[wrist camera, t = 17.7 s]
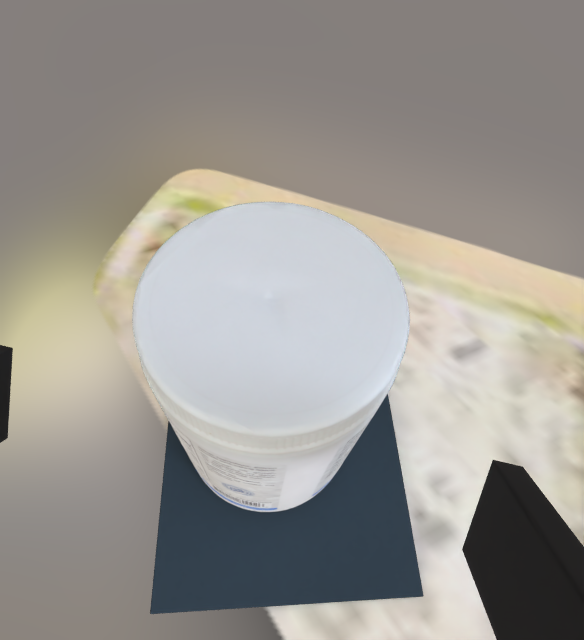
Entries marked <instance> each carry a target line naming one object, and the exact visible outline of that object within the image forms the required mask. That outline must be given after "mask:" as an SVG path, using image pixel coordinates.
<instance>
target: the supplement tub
mask: <svg viewBox="0 0 584 640" xmlns="http://www.w3.org/2000/svg"><path fill="white" fill-rule="evenodd" d="M132 321H133V333H134V338H135V342H136V346H137V349H138V352H139V357H140V361H141V366H142V369H143V372H144V375H145V377H146V379H147V381H148V383H149V385H150V388H151V389H152V391H153V393H154V395H155V397H156V399H157V401H158V402H159V404H160V406H161V408H162V410H163V412H164V413H165V415H166V417H167V419H168V420H169V422H170V424H171V426H172V427H173V429H174V431H175V433H176V435H177V436H178V438H179V440H180V442H181V444H182V445H183V447H184V449H185V451H186V452H187V454H188V456H189V458H190V460H191V461H192V463H193V465H194V467H195V469H196V470H197V472H198V473H199V475H200V477H201V478H202V479H203V481H204V482H205V483H206V484H207V485H208V487H209V488H210V489H211V490H212V491H213V492H214V493H215V494H217V495H218V496H219V497H221V498H222V499H224V500H225V501H227V502H229V503H231V504H233V505H235V506H238V507H240V508H243V509H247V510H251V511H257V512H275V511H282V510H287V509H290V508H293V507H296V506H298V505H301V504H303V503H304V502H306V501H308V500H310V499H311V498H312V497H314V496H315V495H317V494H318V493H319V492H320V491H321V490H322V489H323V488H324V487H325V486H326V485H327V484H328V483H329V482H330V481H331V479H332V478H333V477H334V475H335V474H336V473H337V471H338V470H339V468H340V467H341V465H342V464H343V462H344V460H345V459H346V457H347V456H348V454H349V453H350V451H351V450H352V448H353V446H354V445H355V443H356V442H357V440H358V439H359V437H360V436H361V434H362V433H363V431H364V430H365V428H366V427H367V425H368V424H369V422H370V421H371V419H372V418H373V416H374V414H375V413H376V411H377V410H378V408H379V407H380V405H381V403H382V402H383V400H384V398H385V397H386V395H387V394H388V392H389V390H390V388H391V386H392V384H393V382H394V380H395V378H396V375H397V373H398V369H399V366H400V363H401V360H402V358H403V355H404V353H405V349H406V345H407V341H408V335H409V325H410V316H409V307H408V301H407V296H406V292H405V289H404V286H403V284H402V281H401V279H400V277H399V275H398V273H397V271H396V269H395V267H394V266H393V264H392V263H391V261H390V260H389V258H388V257H387V256H386V254H385V253H384V252H383V251H382V250H381V249H380V247H379V246H378V245H377V244H376V243H375V242H374V241H373V240H372V239H370V238H369V237H368V236H367V235H365V234H364V233H363V232H362V231H360V230H359V229H357V228H356V227H354V226H353V225H351V224H350V223H348V222H346V221H344V220H342V219H340V218H338V217H336V216H334V215H332V214H329V213H327V212H324V211H322V210H319V209H315V208H312V207H308V206H304V205H299V204H293V203H284V202H254V203H246V204H240V205H234V206H230V207H226V208H223V209H220V210H217V211H214V212H212V213H209V214H207V215H204V216H202V217H200V218H198V219H196V220H194V221H193V222H191V223H189V224H188V225H186V226H184V227H183V228H181V229H180V230H179V231H177V232H176V233H175V234H174V235H173V236H171V237H170V238H169V239H168V240H167V241H166V242H165V243H164V244H163V245H162V246H161V247H160V248H159V249H158V250H157V252H156V253H155V254H154V256H153V257H152V258H151V260H150V261H149V263H148V264H147V266H146V268H145V270H144V272H143V274H142V276H141V278H140V281H139V283H138V286H137V289H136V293H135V298H134V303H133V316H132Z"/></svg>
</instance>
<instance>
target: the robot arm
mask: <svg viewBox="0 0 584 640" xmlns="http://www.w3.org/2000/svg"><path fill="white" fill-rule="evenodd" d="M12 350H13V349H12V348H10V347H6V346H2V345H0V443H1V442H2V441H4V440H5V439H7V437H8V419H9V402H10V385H11V369H12ZM462 550H463V553H464V555H465V558H466V560H467V563H468V566H469V568H470V571H471V574H472V576H473V579H474V581H475V584H476V587H477V589H478V592H479V594H480V597H481V600H482V602H483V605H484V608H485V610H486V613H487V615H488V618H489V621H490V623H491V626H492V628H493V631H494V634H495V636H496V639H497V640H584V546H583V545H582V544H581V543H580V541H579V540H578V539H577V537H576V536H575V535H574V533H573V532H572V531H571V529H570V528H569V527H568V525H567V524H566V523H565V522H564V520H563V519H562V518H561V516H560V515H559V514H558V512H557V511H556V510H555V508H554V507H553V506H552V504H551V503H550V502H549V501H548V499H547V498H546V497H545V495H544V494H543V493H542V491H541V490H540V489H539V487H538V486H537V485H536V483H535V482H534V481H533V480H532V478H531V477H530V476H529V474H528V473H527V472H526V470H525V469H524V468H523V467H521V466H517V465H513V464H509V463H504V462H500V461H496V460H493V461H492V464H491V467H490V470H489V473H488V476H487V479H486V482H485V484H484V487H483V490H482V493H481V496H480V499H479V502H478V505H477V508H476V511H475V514H474V517H473V519H472V522H471V525H470V528H469V531H468V534H467V537H466V540H465V543H464V546H463V549H462Z"/></svg>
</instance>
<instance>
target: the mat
mask: <svg viewBox="0 0 584 640" xmlns="http://www.w3.org/2000/svg"><path fill="white" fill-rule="evenodd" d="M421 596H423V591H422V585H421V579H420V574H419V568H418V562H417V557H416V551H415V545H414V540H413V534H412V528H411V523H410V517H409V511H408V506H407V500H406V494H405V489H404V483H403V477H402V472H401V466H400V460H399V455H398V449H397V443H396V438H395V432H394V427H393V421H392V415H391V410H390V404H389V398H388V394H387V395H386V397H385V398H384V400H383V402H382V403H381V405H380V407H379V408H378V410H377V411H376V413H375V414H374V416H373V418H372V419H371V421H370V422H369V424H368V425H367V427H366V428H365V430H364V431H363V433H362V434H361V436H360V437H359V439H358V440H357V442H356V443H355V445H354V446H353V448H352V450H351V451H350V453H349V454H348V456H347V457H346V459H345V460H344V462H343V464H342V465H341V467H340V468H339V470H338V471H337V473H336V474H335V475H334V477H333V478H332V479H331V481H330V482H329V483H328V484H327V485H326V486H325V487H324V488H323V489H322V490H321V491H320V492H319V493H318V494H317V495H315V496H314V497H312V498H311V499H310V500H308V501H306V502H304V503H303V504H301V505H298V506H296V507H293V508H290V509H287V510H282V511H275V512H257V511H251V510H247V509H243V508H240V507H238V506H235V505H233V504H231V503H229V502H227V501H225V500H224V499H222V498H221V497H219V496H218V495H217V494H215V493H214V492H213V491H212V490H211V489H210V488H209V487H208V485H207V484H206V483H205V482H204V481H203V479H202V478H201V477H200V475H199V473H198V472H197V470H196V469H195V467H194V465H193V463H192V461H191V460H190V458H189V456H188V454H187V452H186V451H185V449H184V447H183V445H182V444H181V442H180V440H179V438H178V436H177V435H176V433H175V431H174V429H173V427H172V426H171V424H170V422H168V432H167V443H166V453H165V464H164V475H163V486H162V495H161V506H160V517H159V526H158V537H157V547H156V558H155V569H154V579H153V589H152V600H151V610H150V614H158V613H174V612H188V611H206V610H220V609H236V608H252V607H267V606H283V605H298V604H313V603H329V602H344V601H360V600H375V599H390V598H406V597H421Z"/></svg>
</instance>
